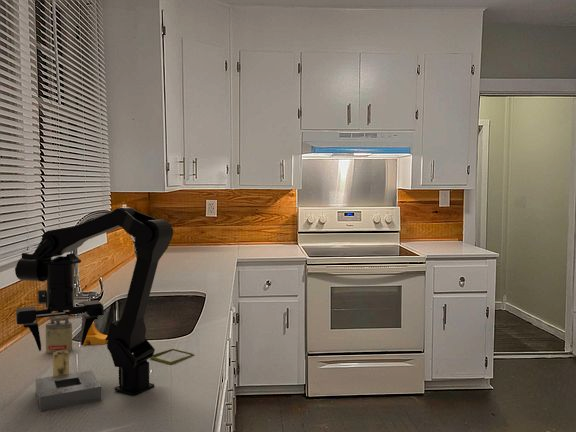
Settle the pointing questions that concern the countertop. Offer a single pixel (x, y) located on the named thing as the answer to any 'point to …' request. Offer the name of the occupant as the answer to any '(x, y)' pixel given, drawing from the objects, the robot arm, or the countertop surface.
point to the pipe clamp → (95, 336)
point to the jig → (67, 390)
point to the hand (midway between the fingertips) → (61, 347)
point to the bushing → (60, 363)
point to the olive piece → (169, 351)
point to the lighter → (58, 335)
